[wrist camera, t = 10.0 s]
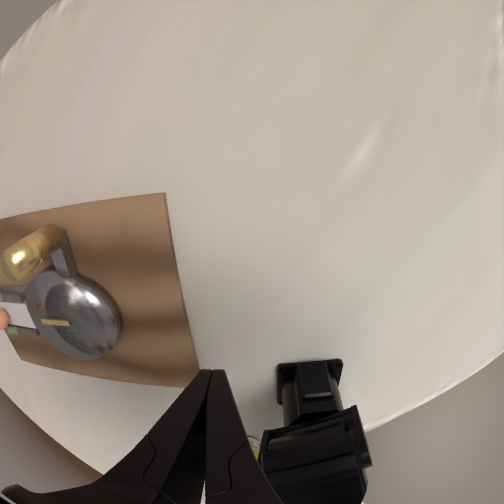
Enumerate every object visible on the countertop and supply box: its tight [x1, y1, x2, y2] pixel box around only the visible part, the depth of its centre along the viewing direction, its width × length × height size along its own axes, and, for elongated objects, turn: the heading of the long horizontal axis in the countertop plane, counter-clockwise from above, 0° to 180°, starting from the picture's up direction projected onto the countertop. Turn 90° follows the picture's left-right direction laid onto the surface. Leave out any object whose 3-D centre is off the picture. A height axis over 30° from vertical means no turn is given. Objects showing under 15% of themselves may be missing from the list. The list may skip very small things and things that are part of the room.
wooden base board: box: [0, 193, 200, 387], centre depth 23 cm, size 20×28×3 cm
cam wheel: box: [0, 224, 123, 361], centre depth 20 cm, size 12×12×7 cm
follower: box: [0, 299, 37, 330], centre depth 22 cm, size 3×8×4 cm, turn 93°
